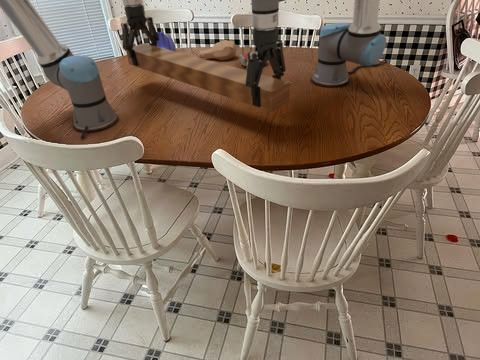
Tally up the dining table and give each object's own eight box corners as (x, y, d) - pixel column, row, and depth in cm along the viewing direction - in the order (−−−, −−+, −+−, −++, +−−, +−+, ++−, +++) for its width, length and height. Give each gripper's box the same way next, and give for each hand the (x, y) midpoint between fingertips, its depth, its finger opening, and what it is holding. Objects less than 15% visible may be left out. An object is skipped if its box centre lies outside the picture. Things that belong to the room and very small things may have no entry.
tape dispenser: (258, 80, 163) (278, 64, 175) (258, 69, 159) (279, 54, 172) (226, 73, 170) (248, 58, 183) (226, 62, 167) (248, 48, 179)
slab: (129, 64, 154) (125, 48, 150) (147, 58, 159) (143, 43, 155) (271, 111, 110) (271, 91, 106) (289, 101, 115) (290, 81, 111)
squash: (238, 60, 183) (235, 44, 177) (201, 68, 185) (196, 51, 179) (237, 51, 191) (234, 34, 185) (201, 58, 193) (197, 42, 186)
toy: (164, 64, 198) (143, 70, 176) (159, 31, 191) (137, 33, 169) (180, 63, 196) (162, 69, 173) (176, 30, 189) (156, 32, 167)
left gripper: (114, 11, 131) (128, 71, 144) (161, 1, 144) (171, 56, 157) (103, 9, 135) (118, 67, 149) (150, -1, 148) (160, 53, 161)
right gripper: (249, 39, 94) (253, 115, 107) (298, 20, 106) (296, 91, 120) (229, 35, 98) (235, 109, 111) (278, 17, 110) (278, 86, 124)
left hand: (145, 62), depth 153 cm, fingers closed on slab, 9 cm apart
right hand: (266, 100), depth 115 cm, fingers closed on slab, 9 cm apart
